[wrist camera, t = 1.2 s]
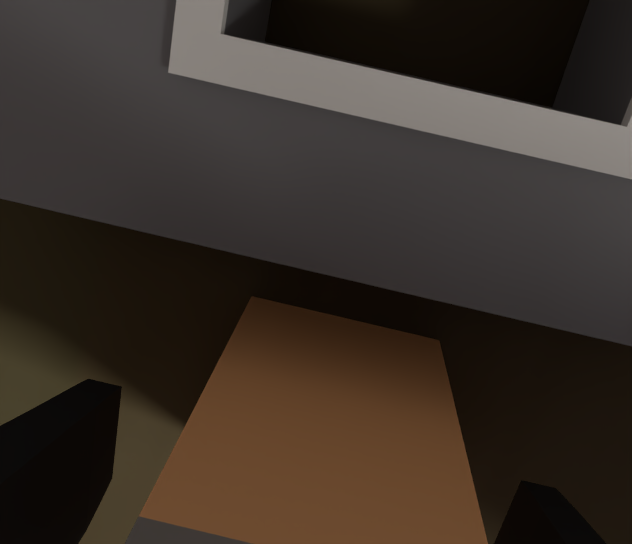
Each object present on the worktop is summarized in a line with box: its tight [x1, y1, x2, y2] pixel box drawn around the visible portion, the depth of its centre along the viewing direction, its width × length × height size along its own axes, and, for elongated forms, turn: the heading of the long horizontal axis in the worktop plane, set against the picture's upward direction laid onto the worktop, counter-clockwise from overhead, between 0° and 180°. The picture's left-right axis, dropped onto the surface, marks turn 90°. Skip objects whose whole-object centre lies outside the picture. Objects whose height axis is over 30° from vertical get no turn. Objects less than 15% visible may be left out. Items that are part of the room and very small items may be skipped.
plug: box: [125, 296, 488, 544], centre depth 9 cm, size 4×4×7 cm
